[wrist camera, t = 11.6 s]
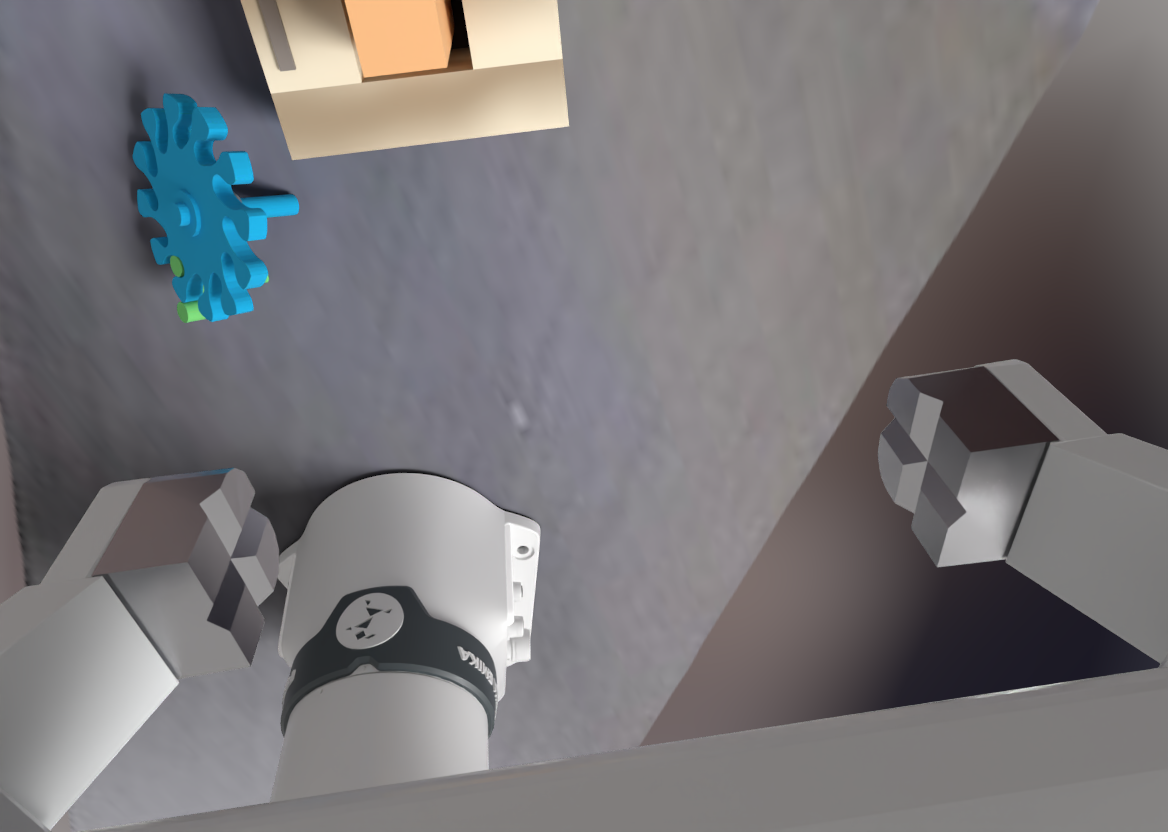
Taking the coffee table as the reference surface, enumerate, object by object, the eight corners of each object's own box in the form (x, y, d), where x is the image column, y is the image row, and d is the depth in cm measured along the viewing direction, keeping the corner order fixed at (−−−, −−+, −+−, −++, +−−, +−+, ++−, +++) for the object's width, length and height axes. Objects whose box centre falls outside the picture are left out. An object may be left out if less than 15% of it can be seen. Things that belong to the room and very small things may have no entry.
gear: (125, 45, 31) (254, 186, 29) (255, 56, 36) (377, 179, 33) (113, 252, 38) (217, 383, 35) (224, 240, 42) (323, 355, 40)
